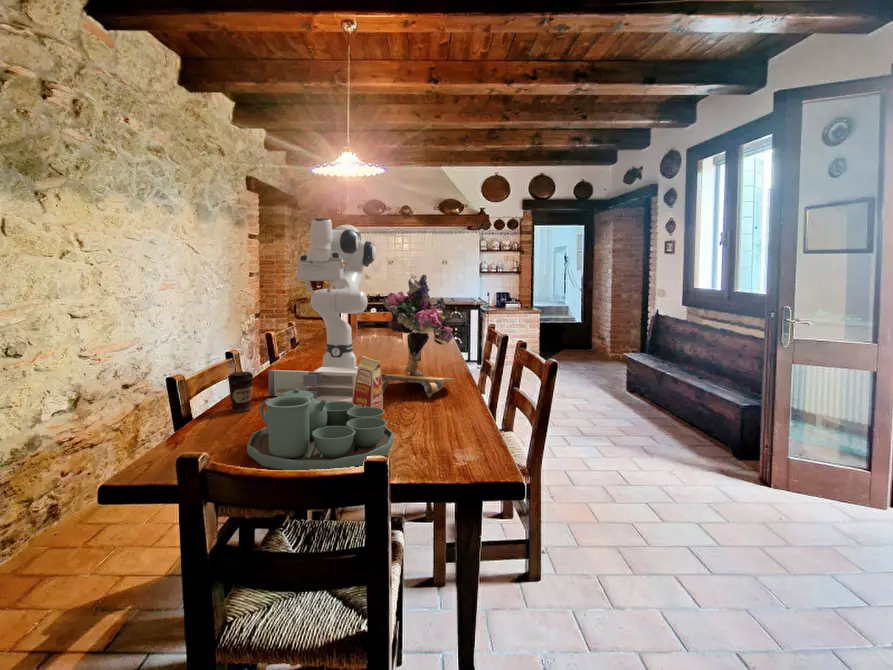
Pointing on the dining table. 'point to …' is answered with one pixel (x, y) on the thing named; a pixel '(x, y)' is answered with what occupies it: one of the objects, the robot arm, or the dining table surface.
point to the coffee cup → (240, 390)
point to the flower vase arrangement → (423, 319)
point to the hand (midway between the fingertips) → (319, 292)
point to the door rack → (281, 391)
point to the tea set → (317, 433)
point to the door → (285, 380)
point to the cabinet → (331, 383)
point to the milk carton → (368, 385)
